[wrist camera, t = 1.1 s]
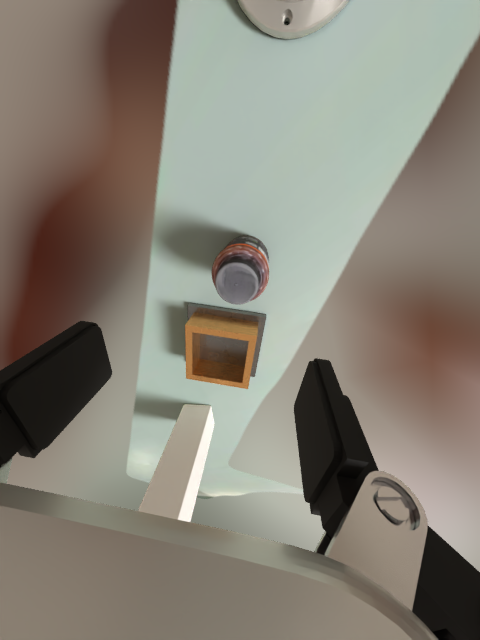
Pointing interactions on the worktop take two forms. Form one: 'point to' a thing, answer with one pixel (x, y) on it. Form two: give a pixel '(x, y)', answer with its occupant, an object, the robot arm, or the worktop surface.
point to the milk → (181, 465)
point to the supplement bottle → (241, 270)
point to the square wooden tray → (222, 344)
